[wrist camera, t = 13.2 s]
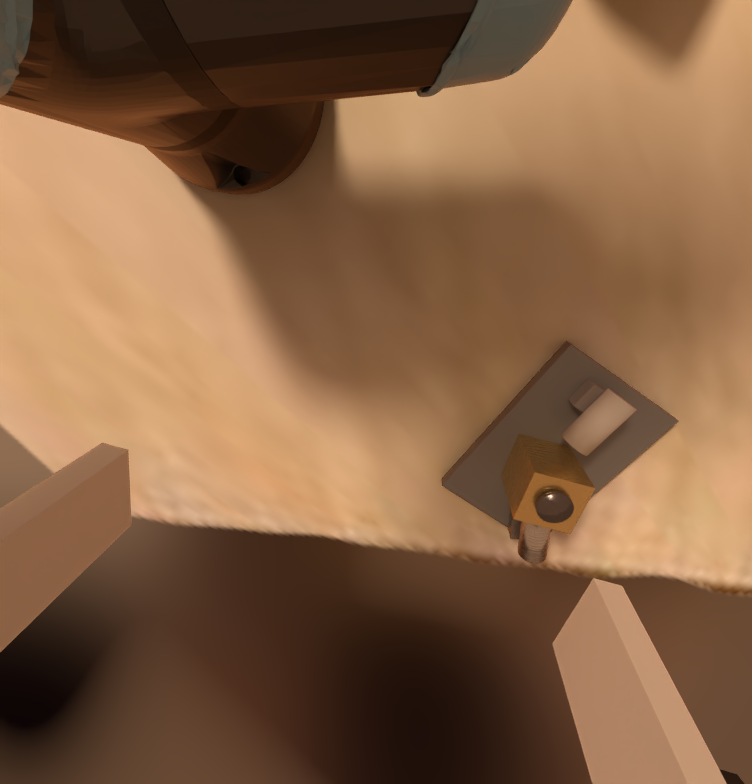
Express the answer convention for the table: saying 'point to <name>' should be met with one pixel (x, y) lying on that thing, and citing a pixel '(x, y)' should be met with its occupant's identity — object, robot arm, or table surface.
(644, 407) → the bolted mounting plate
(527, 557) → the shaft
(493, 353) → the table surface
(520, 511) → the orange rectangular block
